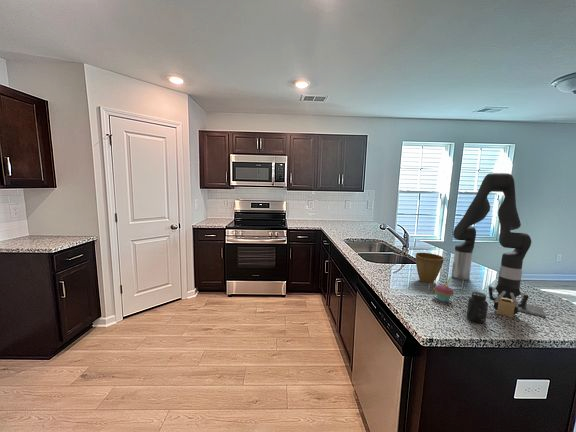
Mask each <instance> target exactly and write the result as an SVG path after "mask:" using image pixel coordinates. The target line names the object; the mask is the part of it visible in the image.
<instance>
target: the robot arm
mask: <svg viewBox="0 0 576 432" xmlns="http://www.w3.org/2000/svg"><path fill="white" fill-rule="evenodd" d="M478 188H479V189H478V191H477V193H476V195H475V196H474V197H473V199H472V201H471V203H470V204H469V206H468V208H467V209H466V211H465V213H464V215H463V217H462V218H461V219H460V221H459V222H458V223H457V224H456V225H455V227H454V229H453V232H452V236H453V239H455V240H457V241H464V242H463V243H459V244H455V246H454V254H453V261H452V267H451V268H452V269H451V277H452V278H456V279H458V280H465V281H467V280H470V278H471V268H472V260H473V253H474V248H475V243H476V237H477V229H476V228H475V227H474V226H473V225H475V224H477V223H479V222H481V221H483V220H484V219H486V217H487V215H488V214H489V212H490V211H491V204H490V201H489V199H488V196H489V194H490V193H491V192H494V193H496V192H498V193H503V195H504V196H503V197H504V199H503V200H502V202H501V204H500V206H499V208H498V209H497V210H498V211H497V217H498V221H499V227H500V228H499V229H500V230H499V236H498V243H499V245H501V247H503V248H505V249H514V250H513V251H510V252H504V253H503V254H502V255H501V262H500V266H499V267H500V268H499V271H498V279H497V285H496V286H492V285H488V296H489V300H490V301H493V308H494V309H495V311H497V308H498V300H500V299H501V298H505V299H510V300H513V302H514V303H515V308H514V315H513V316H515V315H517V314H518V312H519V311H518V307H524V306H525V304H526V302H527V303H528V299H529V294H528V293H527V292H526V293H524V292H521V282H522V276H523V263H524V259H525V257H526V254H527V253H528V251H529V249H530V248H531V245H532V238H531V236H530V235H529V234H528V233H524V232H511V231H515V230H517V229H519V228H521V225H522V224H521V223H522V222H521V220H520V216H519V212H518V208H517V203H516V201H517V200H516V184H515V179H514V176H513V174H511V173H506V172H491V173H487V174H486V175H485V176H484V177H483V179H482V182H481V184H480V186H479V187H478ZM495 291H496V292H497V295H496V297H495V296H494V293H495ZM493 292H494V293H493ZM519 296H520V297H522V300H521V299H520V302H521V303H517V302H518V301H517V297H519Z"/></svg>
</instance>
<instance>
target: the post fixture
mask: <svg viewBox="0 0 576 432" xmlns="http://www.w3.org/2000/svg"><path fill="white" fill-rule="evenodd" d="M520 297H521V296H520ZM521 300H522V297H521V298H520V301H517V303H521ZM518 312H521V313H525V314H529V315H533V316H537V317H541V318H546V317H547V314H546V312H545V310H544V309H543V307H542V306H539V305H534V304H529V303H528V301H527V302H526V304H525V306H524V307H518Z"/></svg>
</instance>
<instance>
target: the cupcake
mask: <svg viewBox="0 0 576 432" xmlns="http://www.w3.org/2000/svg"><path fill="white" fill-rule="evenodd" d="M450 279H451V277H449V278H448V279H447V282H446V285H445V284H441V285H440V284H439V285H436V286H434V288H433V291H434V292H435V294H436V298H437V299H438V300H439V301H441V302H449V300H450V299H451V297H452V296H454V293H455V292H454V290H453V288H451V287H449V284H450Z"/></svg>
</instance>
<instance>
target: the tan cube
mask: <svg viewBox="0 0 576 432" xmlns="http://www.w3.org/2000/svg"><path fill="white" fill-rule="evenodd" d="M514 308H515V303H514V302H513V300H512V299H508V298H503V297H502V298H501V299H500V300H498V308H497V310H496V314H498V315H502V316H506V317H510V318H514V316H515V315H514Z"/></svg>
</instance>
